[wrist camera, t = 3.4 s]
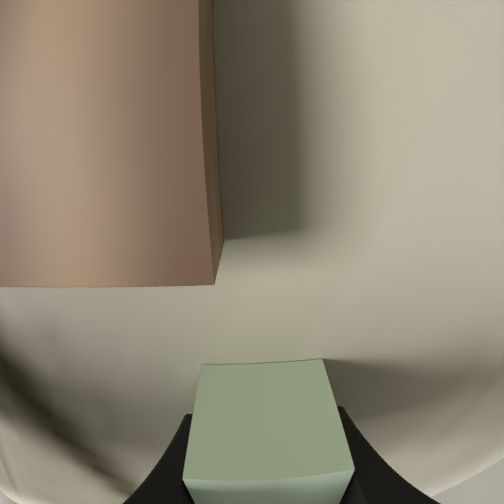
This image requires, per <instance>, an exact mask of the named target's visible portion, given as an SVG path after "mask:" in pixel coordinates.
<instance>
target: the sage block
mask: <svg viewBox="0 0 504 504" xmlns="http://www.w3.org/2000/svg"><path fill="white" fill-rule="evenodd" d="M354 470H355V468H354V464H353V460H352V457H351V453H350V450H349V446H348V443H347V439H346V436H345V432H344V429H343V426H342V422H341V419H340V415H339V412H338V409H337V405H336V402H335V399H334V396H333V392H332V389H331V386H330V382H329V379H328V376H327V373H326V370H325V366H324V363H323V360H322V359H315V360H304V361H292V362H277V363H258V364H230V365H201V371H200V376H199V382H198V388H197V393H196V399H195V405H194V410H193V416H192V422H191V428H190V434H189V440H188V446H187V453H186V459H185V465H184V472H183V478H182V479H183V481H184V483H185V485H186V487H187V489H188V491H189V493H190V495H191V497H192V499H193V501H194V503H195V504H339V503H340V501H341V499H342V497H343V494H344V492H345V490H346V488H347V486H348V484H349V481H350V479H351V477H352V475H353V472H354Z"/></svg>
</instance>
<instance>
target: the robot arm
mask: <svg viewBox="0 0 504 504" xmlns="http://www.w3.org/2000/svg"><path fill="white" fill-rule="evenodd" d="M337 409H338V412H339V415H340V419H341V422H342V426H343V429H344V432H345V436H346V439H347V443H348V446H349V450H350V453H351V457H352V460H353V464H354V468H355V470H354V472H353V475H352V477H351V479H350V481H349V484H348V486H347V488H346V490H345V492H344V494H343V497H342V499H341V501H340V503H339V504H440V503H438V502H436V501H435V500H433V499H431V498H430V497H428V496H427V495H425V494H424V493H422V492H421V491H419V490H418V489H416V488H415V487H414V486H412V485H411V484H410V483H408V482H407V481H406V480H405V479H403V478H402V477H401V476H400V475H399V474H398V473H397V472H395V471H394V470H393V469H392V468H391V467H390V466H389V465H388V464H387V463H386V462H385V461H384V460H383V459H382V458H381V457H380V455H379V454H378V453H377V452H376V451H375V450H374V449H373V448H372V446H371V445H370V444H369V443H368V441H367V440H366V439H365V438H364V437H363V435H362V434H361V433H360V431H359V430H358V429H357V427H356V426H355V424H354V423H353V422H352V420H351V419H350V417H349V416H348V414H347V413H346V411H345V409H344V408H343V407H342V406H338V407H337ZM192 416H193V414H186V415H185V416H184V418H183V421H182V423H181V425H180V427H179V429H178V431H177V432H176V434H175V436H174V438H173V440H172V441H171V443H170V445H169V446H168V448H167V450H166V451H165V453H164V454H163V456H162V457H161V459H160V460H159V462H158V463H157V465H156V466H155V467H154V469H153V470H152V471H151V473H150V474H149V475H148V477H147V478H146V479H145V480H144V482H143V483H142V484H141V485H140V486H139V487H138V489H137V490H136V491H135V492H134V493H133V494H132V495H131V496H130V497H129V498H128V499H127V500H126V501H125V502H124V503H123V504H195V503H194V501H193V499H192V497H191V495H190V493H189V491H188V489H187V487H186V485H185V483H184V481H183V479H182V478H183V472H184V465H185V459H186V453H187V446H188V440H189V434H190V428H191V422H192Z"/></svg>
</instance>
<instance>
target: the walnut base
mask: <svg viewBox="0 0 504 504" xmlns="http://www.w3.org/2000/svg"><path fill="white" fill-rule="evenodd" d="M223 244H224V234H223V220H222V206H221V191H220V175H219V158H218V140H217V120H216V98H215V74H214V45H213V3H212V0H0V287H157V286H194V285H214V284H215V279H216V275H217V270H218V266H219V261H220V257H221V253H222V248H223Z"/></svg>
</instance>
